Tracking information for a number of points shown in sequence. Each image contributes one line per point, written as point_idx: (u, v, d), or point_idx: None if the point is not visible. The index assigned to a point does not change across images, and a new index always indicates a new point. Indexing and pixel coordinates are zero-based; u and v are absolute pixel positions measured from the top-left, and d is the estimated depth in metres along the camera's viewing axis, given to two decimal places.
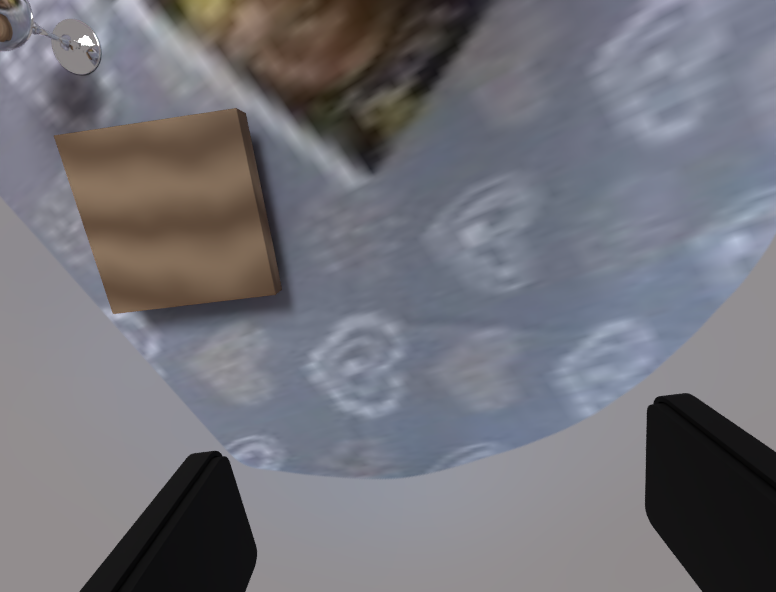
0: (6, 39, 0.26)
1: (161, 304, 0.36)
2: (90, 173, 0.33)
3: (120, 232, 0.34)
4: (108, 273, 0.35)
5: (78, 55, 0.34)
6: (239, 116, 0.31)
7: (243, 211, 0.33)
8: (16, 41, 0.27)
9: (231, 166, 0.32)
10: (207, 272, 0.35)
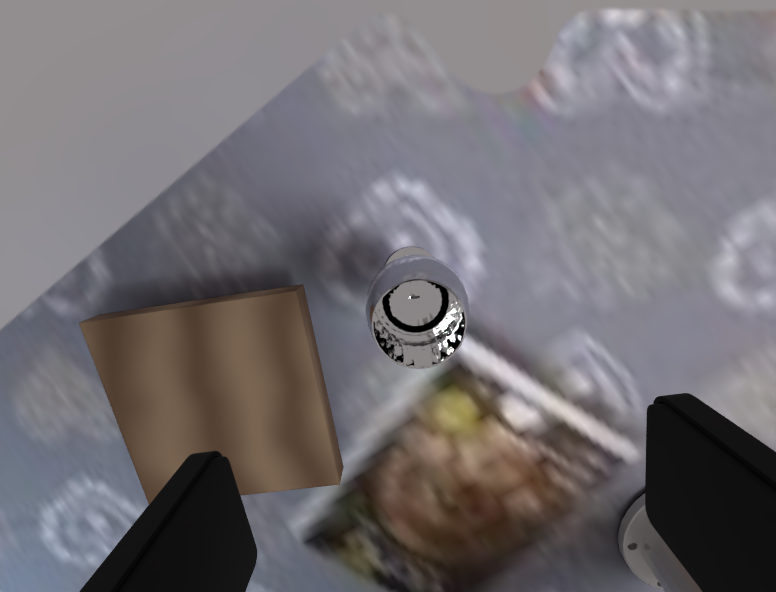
0: None
1: (107, 384, 0.28)
2: (256, 327, 0.27)
3: (189, 350, 0.27)
4: (133, 326, 0.27)
5: None
6: (333, 482, 0.30)
7: (236, 482, 0.30)
8: None
9: (281, 475, 0.30)
10: (159, 439, 0.29)
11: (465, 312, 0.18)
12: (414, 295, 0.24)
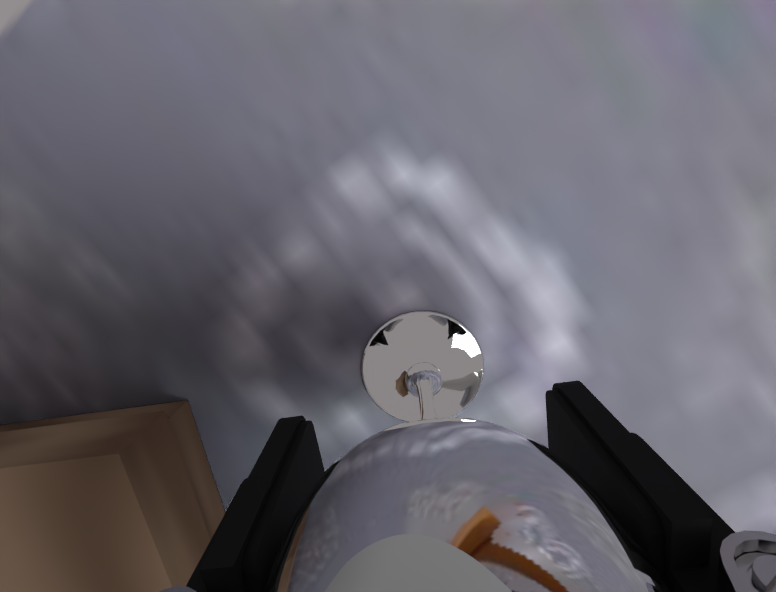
0: None
1: None
2: (31, 533, 0.10)
3: None
4: None
5: (399, 388, 0.13)
6: None
7: None
8: None
9: None
10: None
11: None
12: None
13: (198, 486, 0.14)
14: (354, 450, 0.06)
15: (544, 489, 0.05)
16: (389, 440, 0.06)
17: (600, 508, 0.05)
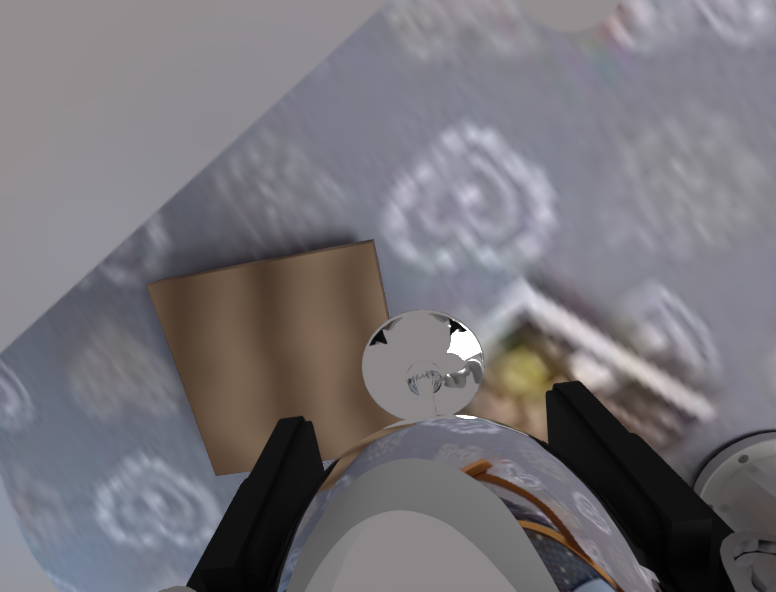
0: None
1: (174, 349, 0.27)
2: (329, 282, 0.26)
3: (260, 309, 0.26)
4: (202, 286, 0.26)
5: (400, 386, 0.13)
6: None
7: None
8: None
9: (353, 439, 0.29)
10: (227, 405, 0.28)
11: None
12: None
13: None
14: (356, 447, 0.06)
15: (547, 485, 0.04)
16: (391, 437, 0.06)
17: (603, 504, 0.05)
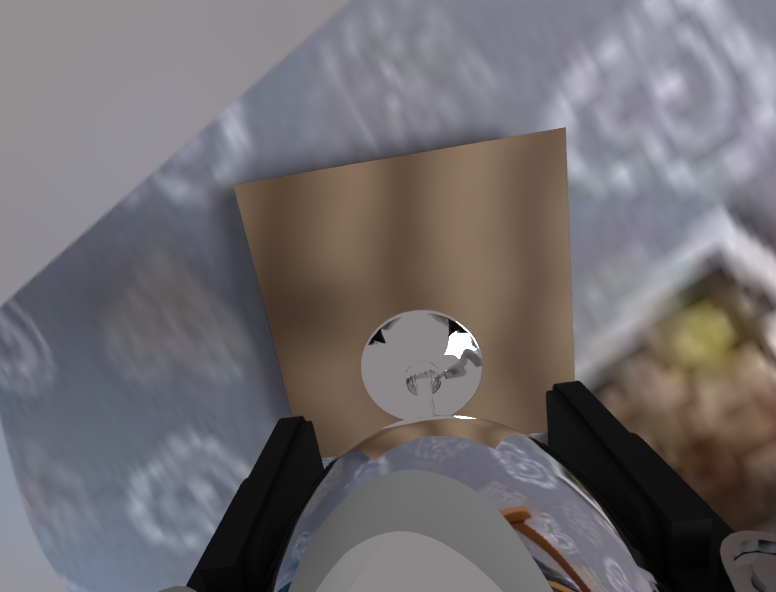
0: None
1: (264, 280, 0.20)
2: (496, 187, 0.18)
3: (391, 225, 0.19)
4: (313, 189, 0.18)
5: (398, 386, 0.13)
6: None
7: None
8: None
9: (496, 414, 0.21)
10: (329, 363, 0.21)
11: None
12: None
13: None
14: (353, 447, 0.06)
15: (544, 486, 0.04)
16: (388, 437, 0.06)
17: (600, 505, 0.05)
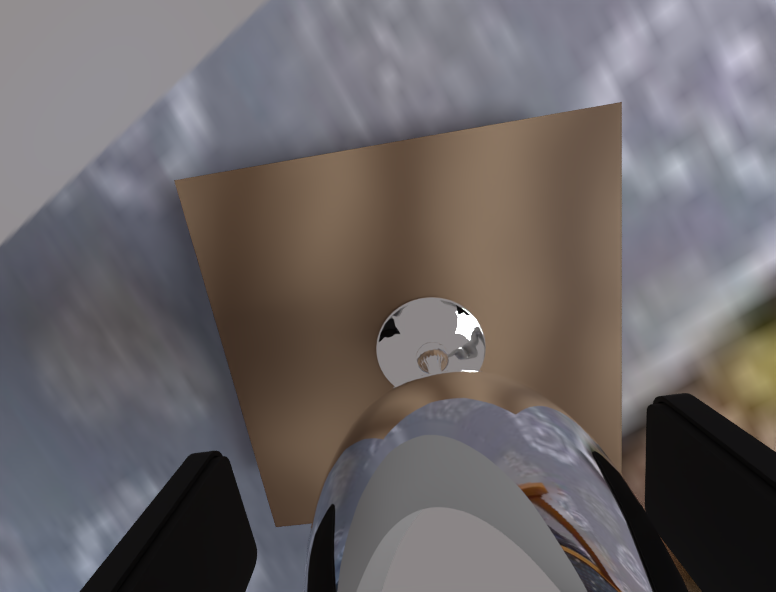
0: None
1: (220, 306, 0.15)
2: (525, 184, 0.14)
3: (385, 234, 0.14)
4: (281, 186, 0.14)
5: (410, 366, 0.15)
6: None
7: None
8: None
9: None
10: (307, 410, 0.16)
11: None
12: None
13: None
14: (383, 395, 0.08)
15: (530, 408, 0.06)
16: (411, 384, 0.07)
17: (573, 424, 0.06)
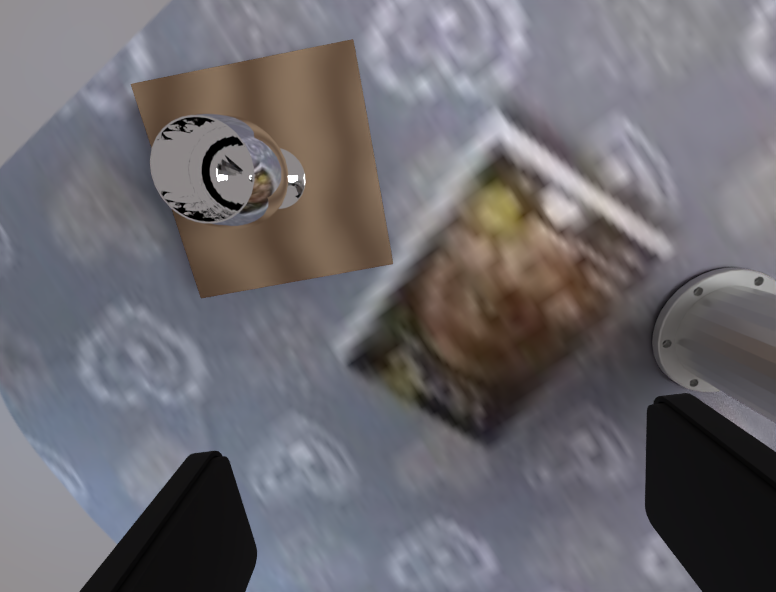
0: None
1: None
2: (312, 83, 0.27)
3: (244, 112, 0.27)
4: (187, 86, 0.27)
5: None
6: (386, 264, 0.31)
7: (290, 266, 0.30)
8: None
9: (335, 255, 0.30)
10: None
11: (250, 153, 0.17)
12: (249, 177, 0.23)
13: None
14: None
15: None
16: None
17: None
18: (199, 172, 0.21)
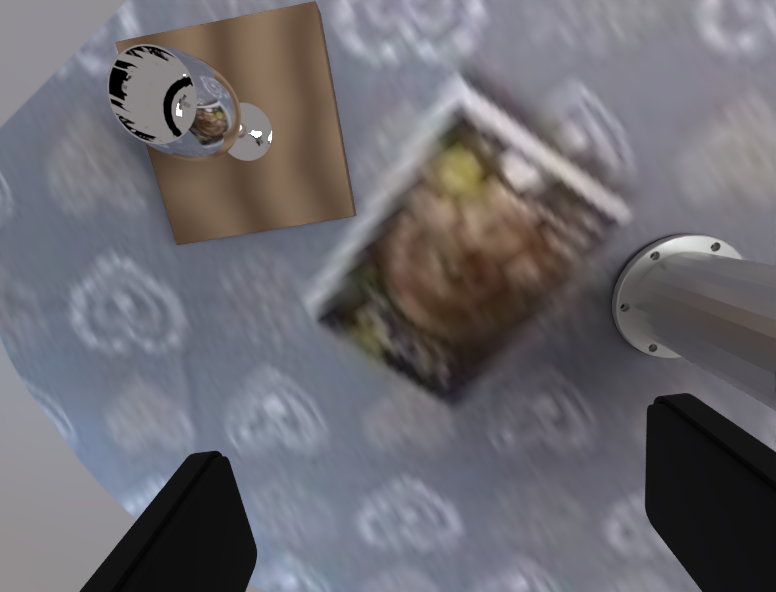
0: None
1: None
2: (278, 42, 0.29)
3: (216, 69, 0.30)
4: (165, 44, 0.29)
5: None
6: None
7: (258, 216, 0.33)
8: None
9: (300, 207, 0.32)
10: (187, 170, 0.32)
11: (193, 80, 0.19)
12: None
13: None
14: None
15: None
16: (173, 66, 0.23)
17: (209, 64, 0.22)
18: (163, 111, 0.24)
